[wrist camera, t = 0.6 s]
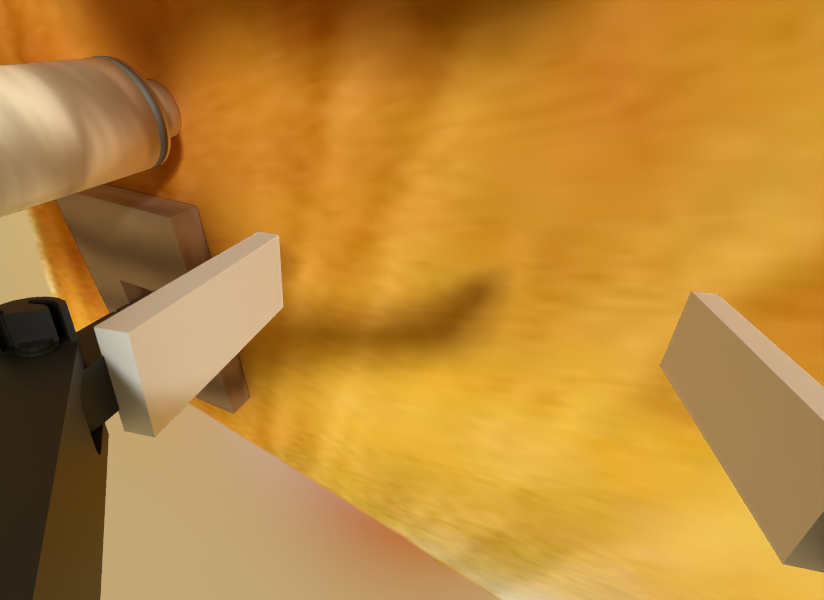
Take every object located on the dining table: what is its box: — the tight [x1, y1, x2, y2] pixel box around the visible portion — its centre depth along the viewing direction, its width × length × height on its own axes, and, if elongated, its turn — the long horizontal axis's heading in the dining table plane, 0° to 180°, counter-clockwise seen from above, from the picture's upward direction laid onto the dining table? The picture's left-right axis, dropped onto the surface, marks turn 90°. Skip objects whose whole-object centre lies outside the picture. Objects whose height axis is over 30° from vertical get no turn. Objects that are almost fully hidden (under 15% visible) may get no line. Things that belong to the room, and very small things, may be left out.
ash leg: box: [0, 56, 181, 217], centre depth 24 cm, size 7×7×14 cm
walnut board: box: [55, 184, 250, 414], centre depth 41 cm, size 22×14×2 cm, turn 178°
